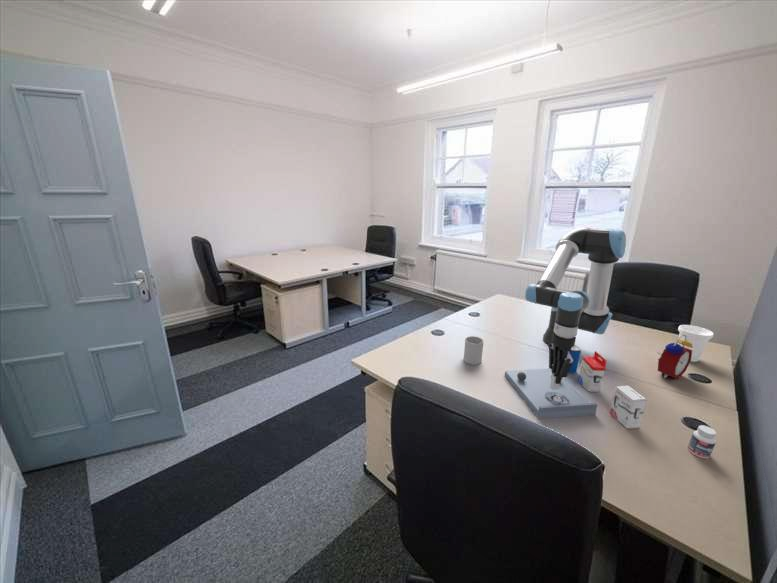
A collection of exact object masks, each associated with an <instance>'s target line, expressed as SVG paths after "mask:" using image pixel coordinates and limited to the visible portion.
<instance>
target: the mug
mask: <svg viewBox="0 0 777 583" xmlns="http://www.w3.org/2000/svg"><path fill="white" fill-rule="evenodd" d="M483 349H484V340H483V339H482V338H481V337H478V336H474V335H473V336H472V335H471V336H467V337H465V339H464V350H463V361H464V362H465V364H468V365H473V366H477V365H480V364H481V363H482V361H483V352H484V351H483Z"/></svg>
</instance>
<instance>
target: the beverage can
mask: <svg viewBox="0 0 777 583" xmlns="http://www.w3.org/2000/svg"><path fill="white" fill-rule="evenodd" d="M581 353H582V352H581V348H580V347H579V346H577V345H576V344H575V345H574V346H573V347H572V348H571V357H572V358H574V359H575V362H574V363H573V364H572V366H571V368H570V370H569V372H568V375H570V374H571V375H572V374H576V373H577V371H578V367H579V362H580V357H581Z"/></svg>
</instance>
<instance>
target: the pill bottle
mask: <svg viewBox="0 0 777 583" xmlns="http://www.w3.org/2000/svg"><path fill="white" fill-rule="evenodd" d="M716 435H717V432H716V430H715V429H713V428H711V427H709V426H707V425H702V424H701V425H698V427H697V430H693V432H692V434H691V437H690V439H689V443H688V445H687V449H688V451H689V452H690V453H691V454H693V455H695V456H696V457H698V458H702V459H709V458H710V457H711V455H712V453H713V450H714V447H715V445H716V443H717V440H716V438H715V437H716Z"/></svg>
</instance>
